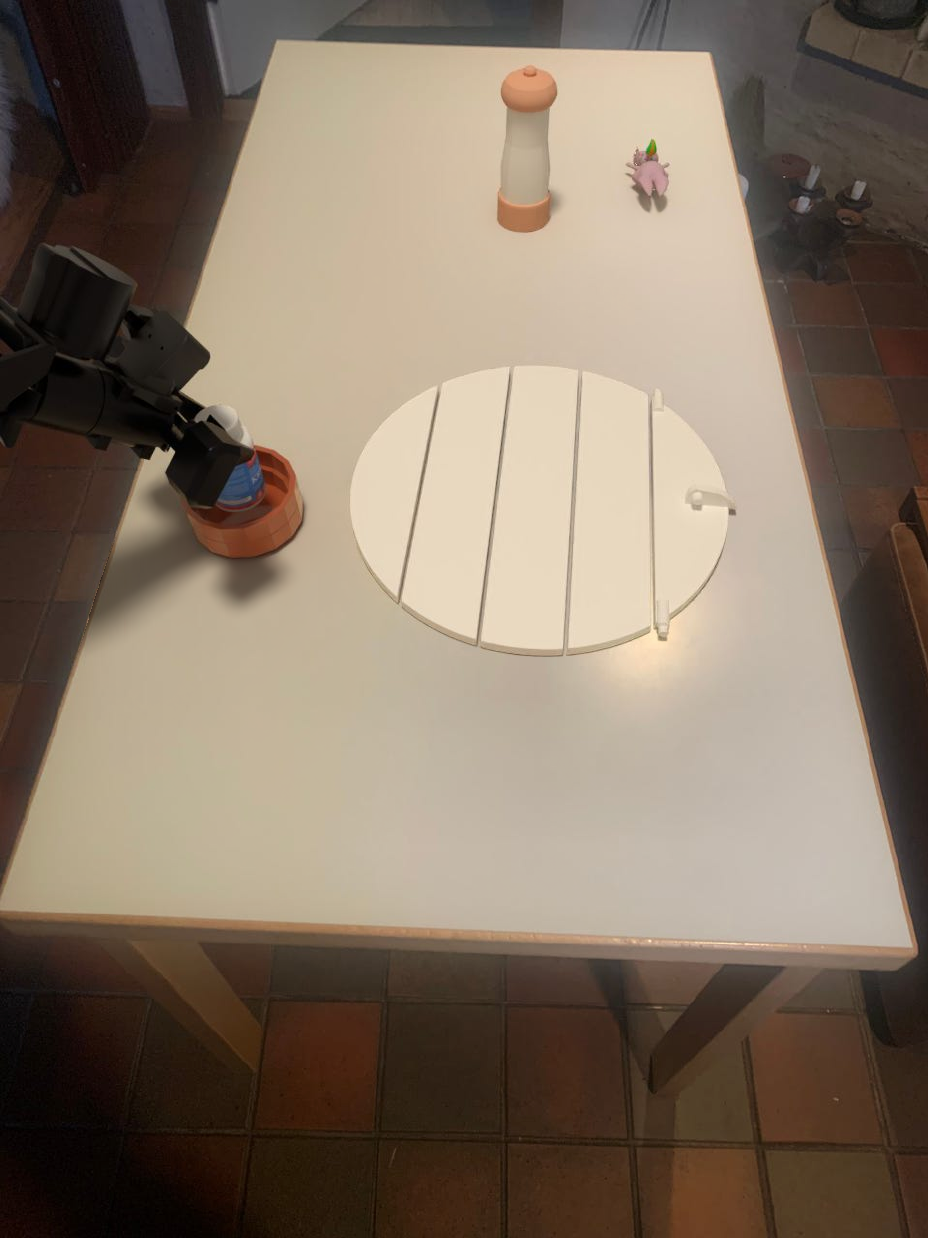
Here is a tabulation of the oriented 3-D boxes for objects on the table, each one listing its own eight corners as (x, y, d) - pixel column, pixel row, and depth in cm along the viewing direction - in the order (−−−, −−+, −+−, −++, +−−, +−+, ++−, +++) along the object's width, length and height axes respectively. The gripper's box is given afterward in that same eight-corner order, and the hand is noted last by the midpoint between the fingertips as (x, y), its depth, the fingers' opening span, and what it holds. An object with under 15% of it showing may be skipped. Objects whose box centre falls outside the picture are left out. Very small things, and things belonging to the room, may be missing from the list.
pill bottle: (270, 508, 83) (249, 434, 75) (215, 519, 82) (188, 446, 74) (262, 469, 86) (241, 394, 78) (209, 479, 85) (182, 405, 77)
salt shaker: (544, 201, 120) (554, 50, 104) (553, 230, 116) (565, 78, 100) (493, 205, 119) (496, 54, 103) (500, 234, 115) (504, 82, 99)
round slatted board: (723, 385, 98) (730, 361, 95) (748, 675, 76) (758, 655, 73) (384, 363, 101) (381, 339, 98) (315, 636, 79) (309, 615, 76)
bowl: (174, 544, 85) (159, 511, 81) (228, 468, 91) (216, 434, 87) (273, 573, 83) (262, 541, 79) (321, 493, 89) (314, 460, 85)
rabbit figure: (621, 168, 127) (630, 208, 116) (626, 125, 122) (636, 161, 112) (662, 169, 127) (675, 208, 116) (669, 125, 122) (683, 161, 112)
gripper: (187, 368, 59) (335, 417, 72) (70, 252, 67) (222, 315, 80) (123, 498, 63) (275, 523, 76) (19, 373, 71) (173, 414, 84)
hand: (236, 438), depth 79 cm, fingers closed on pill bottle, 5 cm apart
